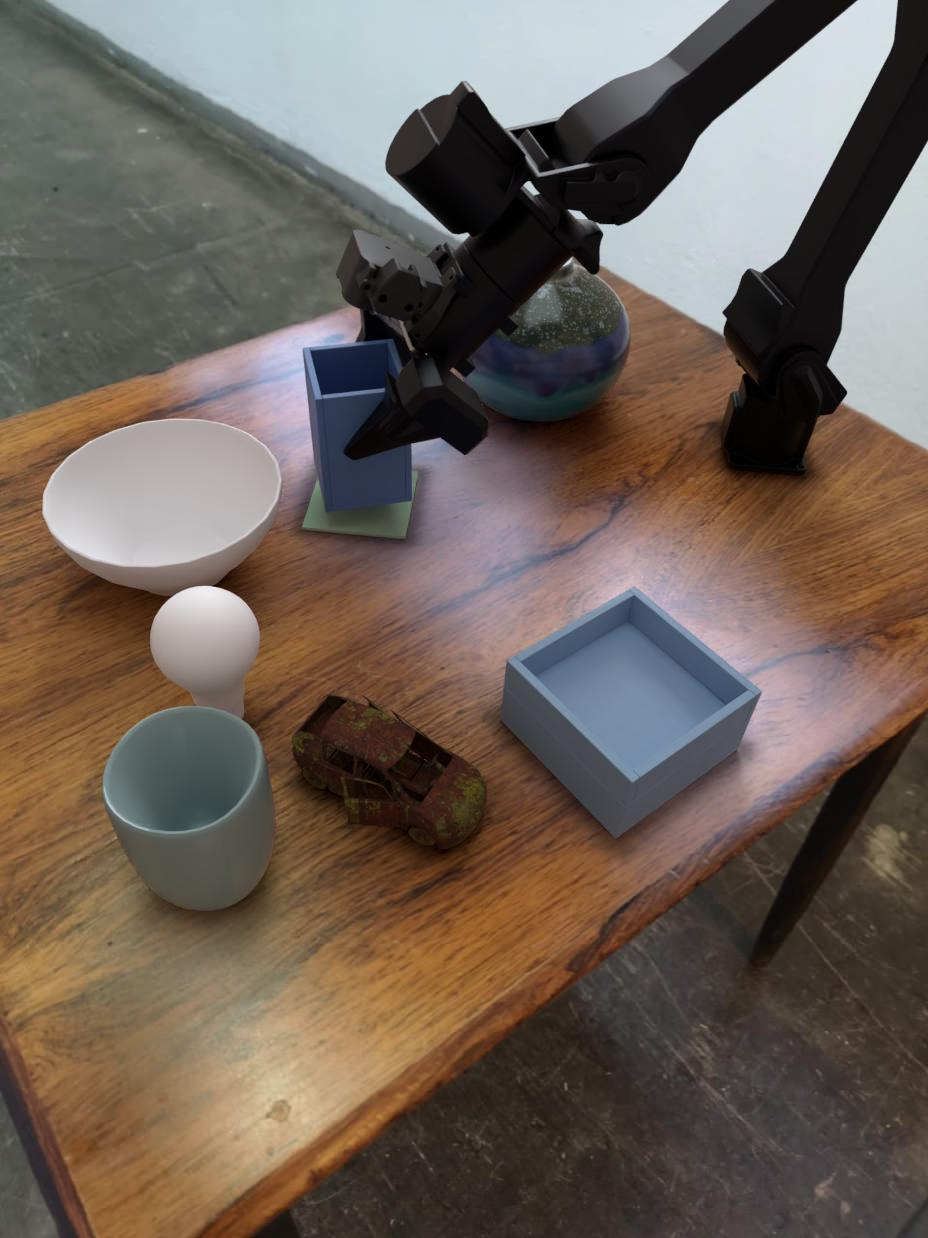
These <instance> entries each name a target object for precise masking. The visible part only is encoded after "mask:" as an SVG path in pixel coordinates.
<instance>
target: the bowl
mask: <svg viewBox="0 0 928 1238" xmlns="http://www.w3.org/2000/svg"><path fill="white" fill-rule="evenodd" d="M282 493H283V479H282V474H281V470H280V465H279V462H278V460H277V458H276V457H275V456H274V455H273V453H272V452H271V450H270V449H269V448H268V446H267V445H266V444H264V443H263V442H261V441H260V440H259V439H257V437H255V436H253V435H251V434H250V433H249V432H246V431H245V430H242V429H239V428H236V427H234V426H232V425H229V424H227V423H223V422H222V423H221V422H217V421H212V420H206V419H200V418H165V419H157V420H148V421H142V422H139V423H134V424H131V425H128V426H124V427H120V428H116V429H114V430H111V431H110V432H107V433H105V434H103V435H101V436H98V437H96V438H94V439H91V440H90V441H88V442H86V444H83V445H82V446H81V447H80V448H78V449H77V450H75V451H74V452H72V453H70V455H68V456H67V457H66V458H65V459H64V460H63V461H62V462H61V464H59V466H58V467H57V468H56V469H55V470H54V472H52V473H51V475H50V478H49V480H48V482H47V484H46V487H45V488H44V491H43V492H42V511H41V513H42V516H43V519H44V522H45V524H46V526H47V528H48V530H49V533H50V535H51V536H52V538H53V540H54V541H55V544H56V545H57V546H59V547H60V548H61V550H62V551H63V552H65V553H66V554H67V555H68V556H69V557H70V558H71V559H72V560H73V561H74V562H75V563H76V564H77V565H78V566H79V567H80V568H82V569H84V570H86V571H88V572H89V573H91V574H94V575H95V576H98V577H100V578H102V579H104V580H106V581H108V582H109V583H112V584H114V585H115V584H116V585H119V586H124V587H129V588H131V589H136V590H137V589H138V590H142V591H147V592H149V593H150V594H154V595H159V596H164V597H173V596H174V595H176V594H177V593H179V592H181V591H183V590H186V589H188V588H192V587H197V586H212V587H214V585H216V584H218V583H220V582H221V580H222V579H223V578H225V577H226V576H227V575H228V574H229V572H230V571H233V569H236V568H237V567H238V566H239V565H240V564H242V562H244V561H245V560H246V559H247V558H248V557H249V556H250V555H251V554H253V552H255V550H257V549H258V548H259V547H260V546H261V544H262V543H263V541H264V539H265V538H266V536H267V535H268V533H269V532H270V530H271V528H272V526H273V524H274V523H275V521H276V518H277V515H278V512H279V510H280V509H279V508H280V503H281V498H282Z"/></svg>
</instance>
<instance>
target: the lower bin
mask: <svg viewBox="0 0 928 1238" xmlns="http://www.w3.org/2000/svg"><path fill="white" fill-rule="evenodd" d="M762 693H763V690H761V688H759V687H758V686H757V685H755V684H754V683H753V682H752V681H750V680H749V679H748V678H747V677H745V675H743V673H741V672H740V671H738V669H736V668H735V667H734V666H732V665H731V664H730V663H729V662H727V660H725V659H724V658H723V657H721V656H720V655H719V654H718V653H717V652H715V651H714V650H713V649H712V648H710V646H708V645H707V644H705V643H704V641H702V640H701V639H699V638H698V637H697V636H696V635H694V634H693V633H692V632H691V630H690V631H689V630H688V628H687V627H685V625H682V624H681V623H680V622H679V621H678V620H676V619H675V618H674V617H673V616H672V615H670V614H669V613H668V612H667V611H666V610H665V609H663V608H662V607H661V606H659V605H658V604H657V603H655V601H653V600H652V599H651V598H650V597H649V596H647V594H645V593H643V591H641V590H640V589H639V588H638V587H636V586H635V585H634V586H631V587H630V588H629V589H627V590H625V591H622V593H620V594H618V595H616V596H615V597H613V598H611V599H609V600H608V601H606V602H604V603H603V604H601V605H599V606H597V607H596V608H594V609H592V610H591V611H589V612H587V613H585V614H584V615H582V616H580V617H578V618H577V619H575V620H572V621H571V622H570V623H567V624H566V625H564V626H563V627H561V628H560V629H557V630H555V631H554V632H552V633H550V634H549V635H547V636H545V637H543V638H542V639H540V640H539V641H537V642H535V643H533V644H531V645H530V646H528V647H526V648H525V649H523V650H521V651H520V652H518V653H516V654H514V655H512V656H510V657H509V658H508V659H506V663H505V672H504V683H503V692H502V699H501V709H500V721H501V722H502V723H503V724H504V725H505V726H506V727H507V728H508V729H509V730H510V731H511V732H512V734H514V736H515V737H517V739H519V741H520V742H521V744H523V745H524V746H525V747H526V748H527V749H528V750H529V751H530V752H531V753H532V754H533V755H534V756H535V757H536V758H537V759H538V760H539V762H540V763H542V764H543V765H544V767H546V769H547V770H548V771H550V773H551V774H552V775H553V776H554V777H555V778H556V779H557V780H558V781H559V782H560V783H561V784H562V785H563V786H564V787H565V788H566V789H567V790H568V791H569V792H570V793H571V794H572V796H574V798H575V799H576V800H577V801H578V802H579V803H580V804H581V805H582V806H583V807H584V809H586V810H587V811H588V812H589V813H590V814H591V815H592V816H593V817H594V819H596V820H597V821H598V823H600V824H601V825H602V827H604V828H605V829H606V831H607V832H608V833H609V834H610V835H611V836H612V837H613V838H614V839H618V838H619V837H620V836H621V835H623V834H624V833H625V832H627V831H628V830H630V829H631V828H632V827H634V826H635V825H637V824H638V823H640V822H641V821H642V820H644V819H645V818H646V817H648V816H649V815H650V814H652V813H653V812H654V811H656V810H657V809H659V808H660V807H661V806H663V805H664V804H666V803H667V802H668V801H669V800H671V799H672V798H674V797H675V796H677V795H678V794H679V793H680V792H682V791H683V790H685V789H686V788H687V787H689V786H690V785H692V784H693V783H694V782H695V781H697V780H698V779H700V778H701V777H702V776H704V775H705V774H706V773H707V772H709V771H711V769H713V768H714V767H716V766H717V765H719V764H720V763H721V762H723V761H725V760H726V759H727V758H728V757H729V756H731V755H733V754H734V753H735V752H736V751H738V749H739V747H740V745H741V742H742V740H743V738H744V735H745V733H746V730H747V729H748V726H749V723H750V722H751V719H752V716H753V714H754V712H755V710H756V707H757V706H758V705H757V704H758V703H759V700H760V698H761V696H762Z"/></svg>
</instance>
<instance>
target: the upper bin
mask: <svg viewBox="0 0 928 1238" xmlns="http://www.w3.org/2000/svg"><path fill="white" fill-rule="evenodd" d="M302 359H303V367H304V377H305V387H306V397H307V405H308V406H307V407H308V416H309V417H308V418H309V426H310V436H311V444H312V445H311V446H312V455H313V462H314V466H315V470H316V475H317V478H318V480H319V484H320V489H321V493H322V498H323V502H324V507H325V511H326V512H333V511H341V510H348V509H356V508H363V507H371V506H378V505H386V504H393V503H401V502H408V501H412V471H413V460H412V459H413V456H412V455H413V454H412V453H413V451H412V449H413V448H412V447H413V446H412V445H413V444H409V445H406V446H402V447H398V448H395V449H392V450H388V451H385V452H382V453H379V454H375V455H372V456H369V457H365V458H362V459H359V460H352V459H350V458H348V457H347V456H345V454H344V449H345V447H346V446H347V444H348V443H349V441H350V440H351V439H352V437H353V436H354V434H355V433H356V432H357V431H358V430H359V428H360V427H361V426H362V425H363V423H364V422H365V421H366V420H367V419H368V417H369V416H370V415H371V414H372V412H373V411H374V410H375V409H376V408H377V406H378V405H379V404H380V403H381V401H382V400H383V399H384V396H385V387H384V374H385V371H387V372H388V373H389V374H391V375H392V376H393V377H395V378H396V379H398V376H399V374H400V371H401V369H402V368H403V366H402V363H401V360H400V357H399V355H398V352H397V349H396V346H395V344H394V341H393V339H386V340H376V341H366V342H356V343H355V342H347V343H337V344H328V345H327V344H326V345H318V346H310V347H309V346H308V347H303V348H302Z"/></svg>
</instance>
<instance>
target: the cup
mask: <svg viewBox="0 0 928 1238" xmlns="http://www.w3.org/2000/svg"><path fill="white" fill-rule="evenodd" d="M103 769H104V770H103V773H102V777H101V797H102V801H103V805H104V808H105V812H106V815H107V817H108V820H109V822H110V824H111V827H112V830H113V831H114V834H115V836H116V838H117V840H118V842H119V844H120V846H121V849H122V851H123V852H124V855H125V856H126V858H127V860H128V861H129V864H130V865H131V867H132V868H133V869H134V871H135V873H136V874H137V875H138V877H139V878H140V880H141V881H142V882H143V884H144V885H145V886H146V887H147V888H148V889H149V890H151V891H152V892H153V893H154V894H155V895H157V897H159V898H160V899H161V900H163V901H166V902H167V903H170V904H171V905H173V906H175V907H178V908H181V909H185V910H191V911H197V912H206V911H208V912H209V911H216V910H220V909H225V908H229V907H230V906H232V905H236V904H237V903H238V902H240V901H241V900H243V899H244V898H246V897H247V896H249V895H250V893H252V892H253V891H254V890H255V888H256V887H257V886H258V884H259V883H260V881H261V880H262V879H263V877H264V876H265V873H266V871H267V869H268V867H269V864H270V862H271V859H272V857H273V853H274V848H275V842H276V831H277V830H276V829H277V816H276V808H275V800H274V792H273V787H272V786H273V785H272V781H271V775H270V770H269V766H268V760H267V756H266V752H265V749H264V746H263V744H262V741H261V739H260V737H259V735H258V734H257V732H256V731H255V730H254V729H253V727H251V725H250V723H247V722H246V721H245V720H243V718H242V719H241V718H239V717H237V716H235V715H233V714H231V713H228V712H226V711H223V710H219V709H215V708H211V707H203V706H196V705H181V706H175V707H169V708H166V709H162V710H160V711H157V712H154V713H152V714H151V715H148V716H147V717H144V718H143V719H141V720H140V721H139V722H137V723H136V724H134V725H133V726H132V727H130V728H129V729H128V731H127V732H126V733H125V734H123V736H122V737H121V738H120V739H119V741H118V742H117V743H116V745H115V746H114V748H113V750H111V752H110V754H109V757H108V758H107V761H106V763H105V766H104V768H103Z"/></svg>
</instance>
